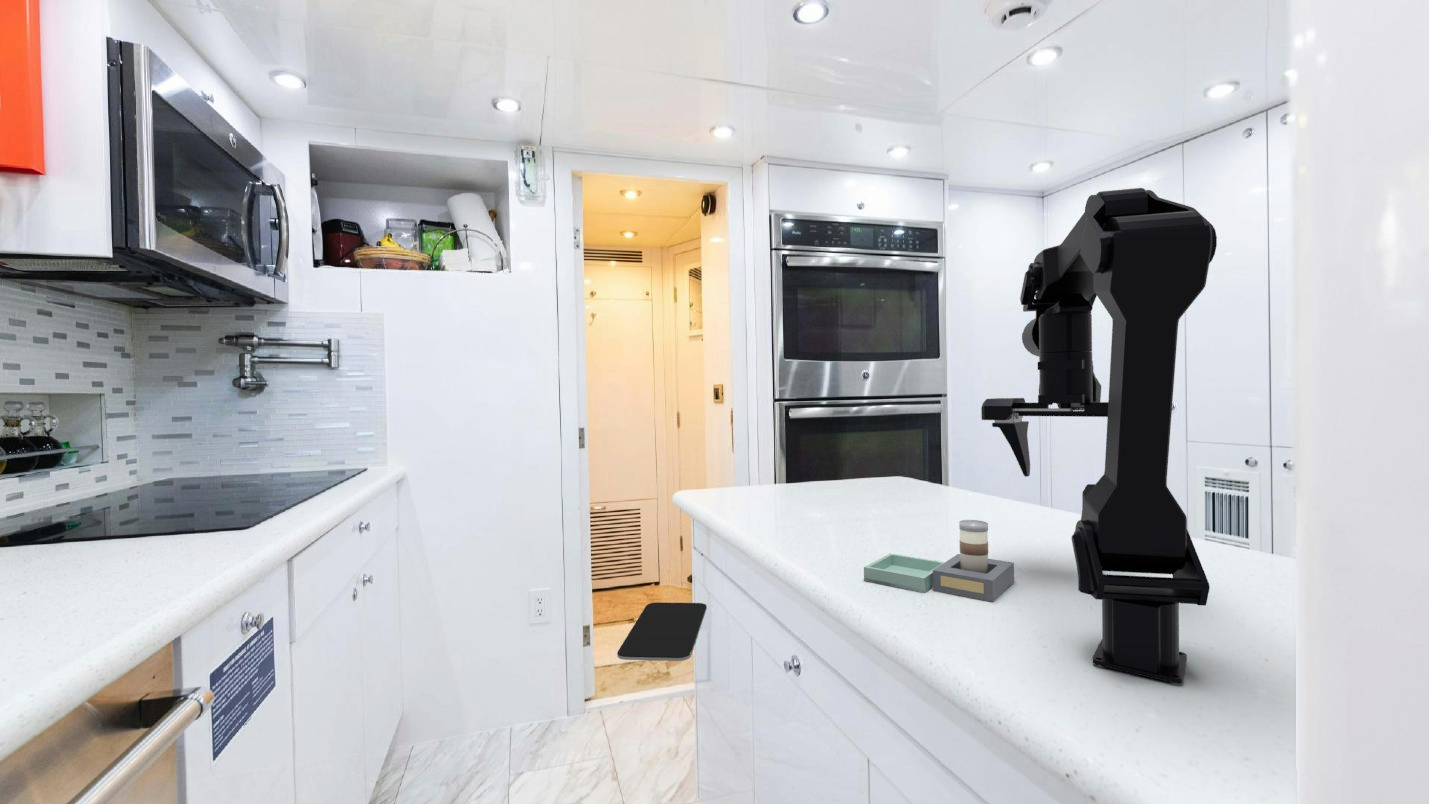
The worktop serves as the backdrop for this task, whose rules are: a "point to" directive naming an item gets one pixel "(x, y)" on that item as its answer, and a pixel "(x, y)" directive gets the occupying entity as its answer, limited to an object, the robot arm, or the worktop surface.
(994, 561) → the fuse holder
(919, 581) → the parts tray
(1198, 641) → the worktop surface
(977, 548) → the fuse
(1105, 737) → the worktop surface
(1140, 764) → the worktop surface
